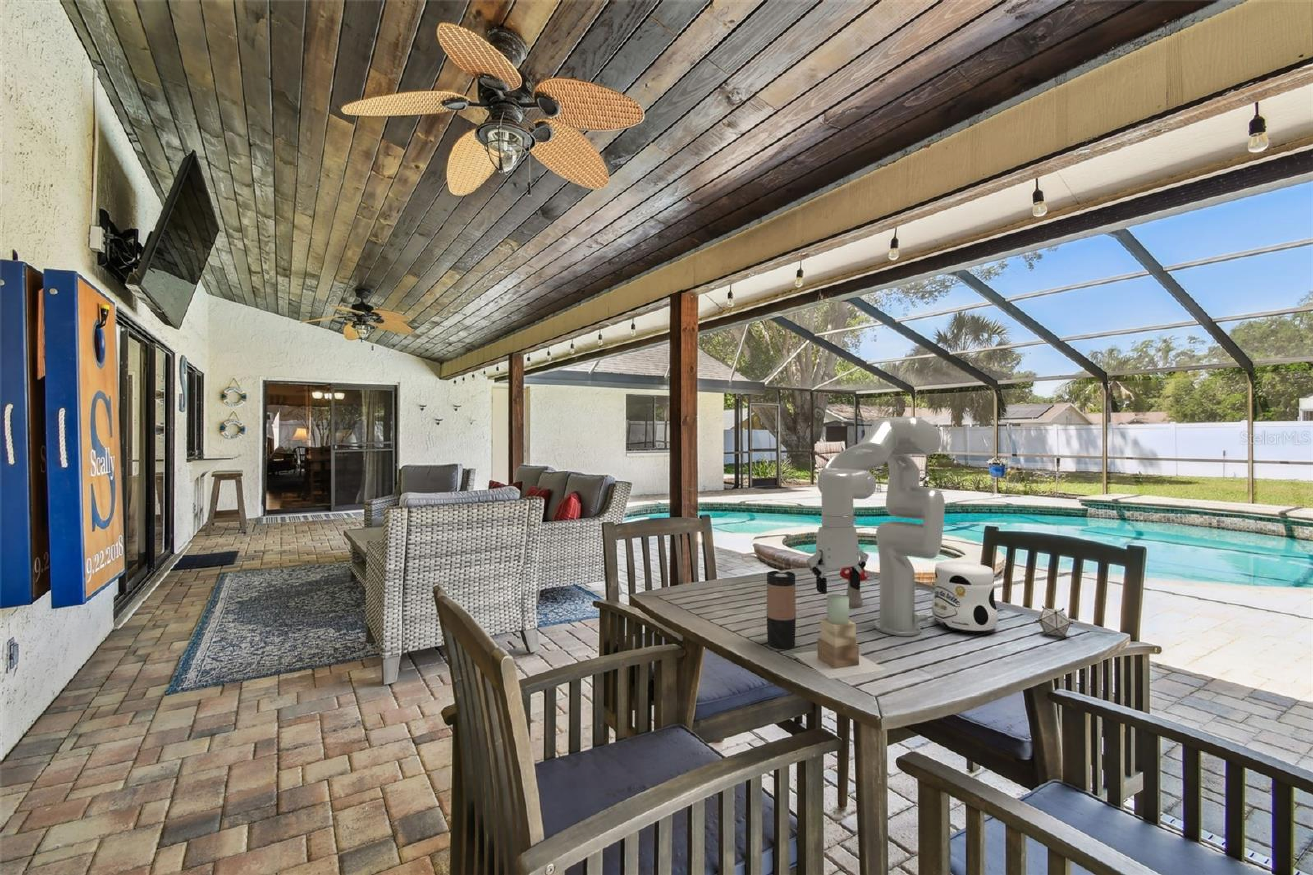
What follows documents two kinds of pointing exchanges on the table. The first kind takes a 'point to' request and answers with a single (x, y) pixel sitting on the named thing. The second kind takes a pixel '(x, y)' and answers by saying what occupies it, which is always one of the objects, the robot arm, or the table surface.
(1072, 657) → the table surface
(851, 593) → the decorative mushroom
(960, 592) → the milk container
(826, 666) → the stone tile
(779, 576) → the travel mug
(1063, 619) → the beige icosahedron ornament
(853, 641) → the tower top block
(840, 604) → the sage cylinder
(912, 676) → the table surface
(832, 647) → the tower base block
